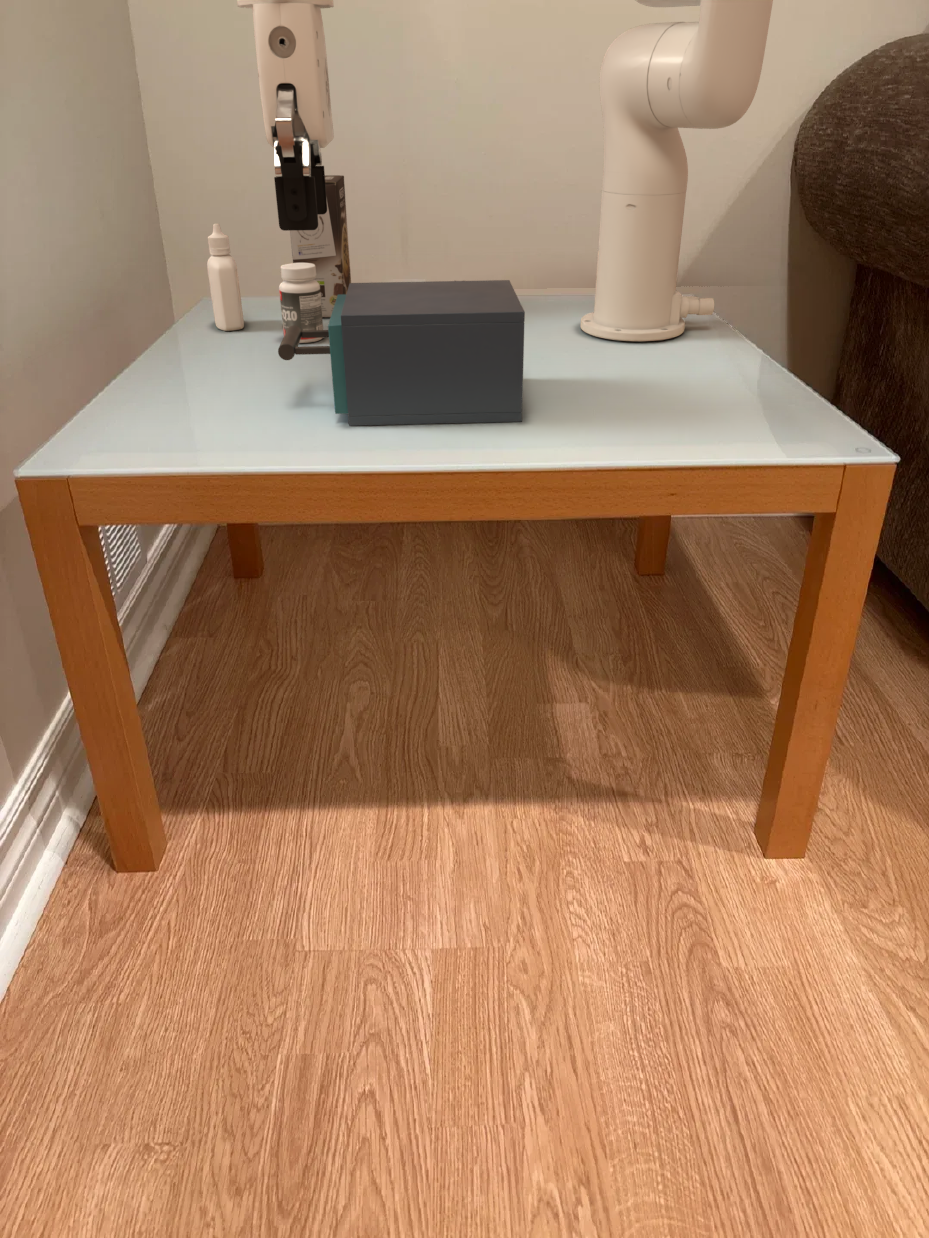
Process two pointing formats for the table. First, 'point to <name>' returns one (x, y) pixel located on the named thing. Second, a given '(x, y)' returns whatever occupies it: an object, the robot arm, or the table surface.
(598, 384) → the table surface
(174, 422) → the table surface
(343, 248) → the coffee box
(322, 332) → the drawer
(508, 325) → the cabinet
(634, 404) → the table surface
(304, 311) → the pill bottle
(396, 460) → the table surface
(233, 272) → the eye dropper bottle
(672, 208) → the robot arm
